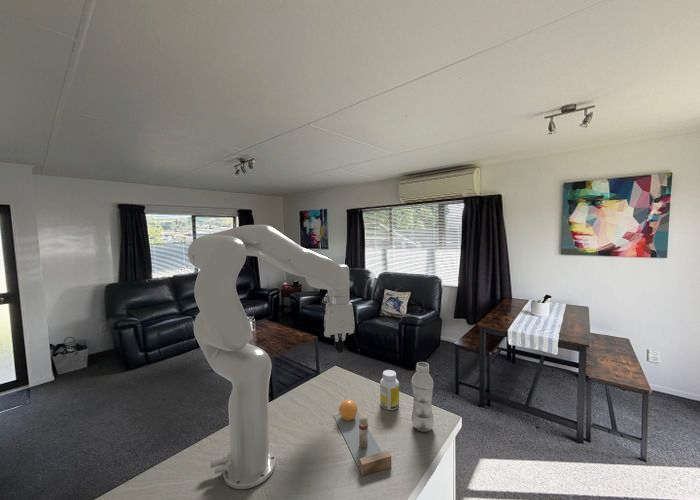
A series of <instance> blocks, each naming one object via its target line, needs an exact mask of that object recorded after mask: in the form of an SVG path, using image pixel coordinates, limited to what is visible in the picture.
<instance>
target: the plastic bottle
mask: <svg viewBox="0 0 700 500" xmlns="http://www.w3.org/2000/svg"><path fill="white" fill-rule="evenodd" d="M429 372H430V364H429V363H427V362H424V361H420V362H417V363H416V365H415V373H414V374H413V375H412V378H411V389H412V397H413V405H412V412H411V425H412V426H413V428H414V429H415V430H416V431H418V432H421V433H429V432H430V431H431V430H432V429H434V428H433V427H434V425H435V420H434V413H433V403H432V401H433V391H434V384H435V383H434V380H433V379H434V378H433V377H432V376H431V374H430V373H429Z"/></svg>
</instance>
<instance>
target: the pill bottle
mask: <svg viewBox="0 0 700 500" xmlns="http://www.w3.org/2000/svg"><path fill="white" fill-rule="evenodd" d="M379 384H380V385H379V387H380V390H379V391H380V392H379V393H380V394H379V395H380V396H379V397H380V405H381V407H382V408H383V409H385V410H388V411H395V410H397V409H398V408H399V407H400V382H399V380H398V379H397V372H396V371H395V370H393V369H392V370H391V369H385V370H383V372H382V378H381V379H380V382H379Z"/></svg>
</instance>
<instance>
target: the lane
mask: <svg viewBox="0 0 700 500" xmlns="http://www.w3.org/2000/svg"><path fill="white" fill-rule="evenodd" d="M359 416H361V415H360V414H359V412H358V411H357V415H356V417H355V418H354V419H353V420H350V421H346V420H344V419H343V418H342V417H341V416H340V414H335V415H333V418H334V419H335V422H336V424H337V425H338V428H339V430H340V432H341V434H342V436H343V438H344V441H345V443H346V445H347V447H348V449H349V452H350V453H351V455H352V457H353V459H354V462H355V464H356V466H357V467H358V468H359V459H360V458H363V457H367V456H370V455H374V454H377V453H381V452H383V450H382V449H381V447H380V446H379V445H378V443H377V441H376V439H375V437H374V436H373V434H372V433H371V432H370V429H368V447H367V449H361V448H360V447H359Z"/></svg>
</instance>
